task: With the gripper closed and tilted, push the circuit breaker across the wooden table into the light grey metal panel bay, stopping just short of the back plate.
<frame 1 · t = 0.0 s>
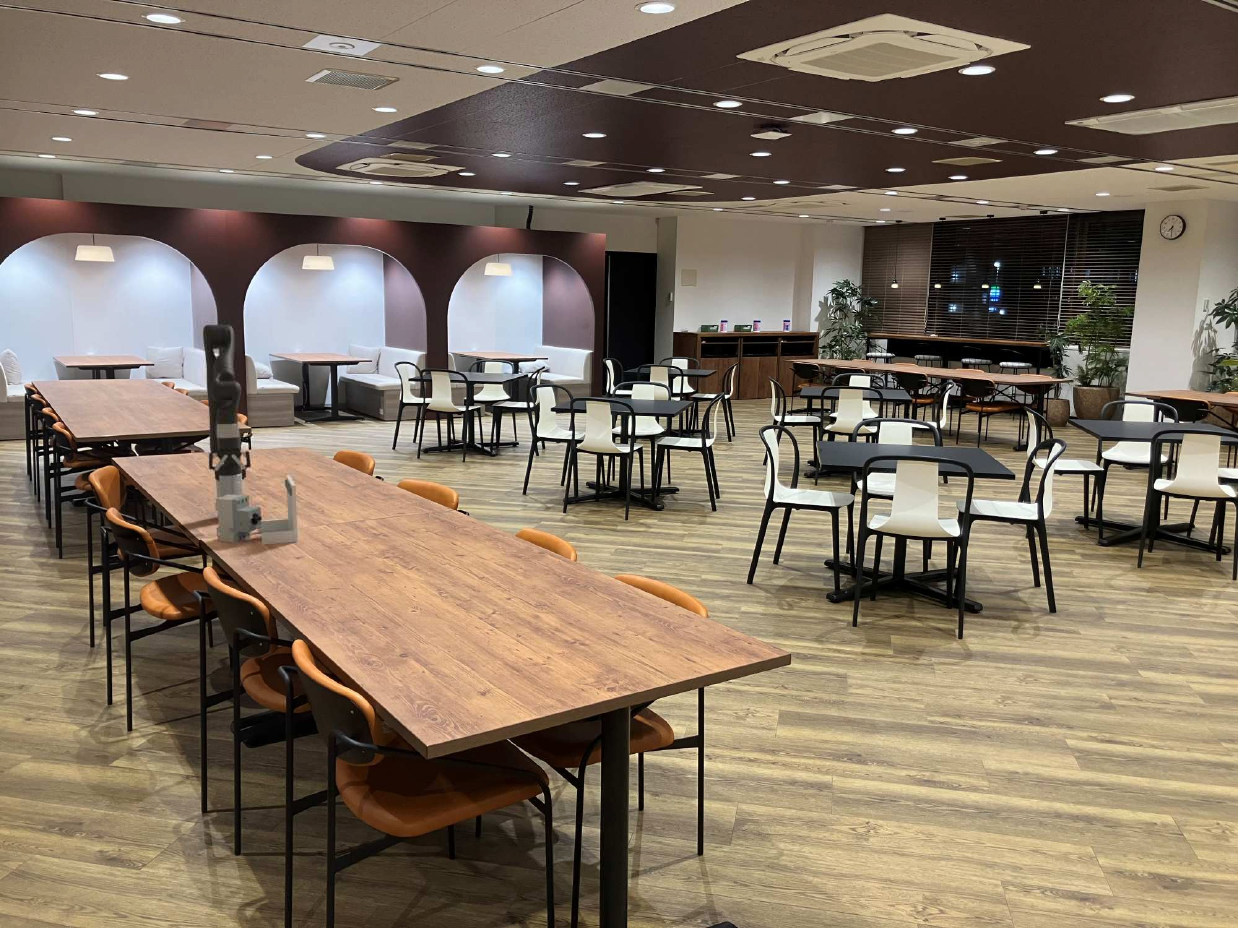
hand: (230, 480, 361), 17 cm above the table, tool pointing down, fingers open, 8 cm apart
circuit breaker: (241, 540, 344), on the table
panel bay: (271, 536, 348), on the table
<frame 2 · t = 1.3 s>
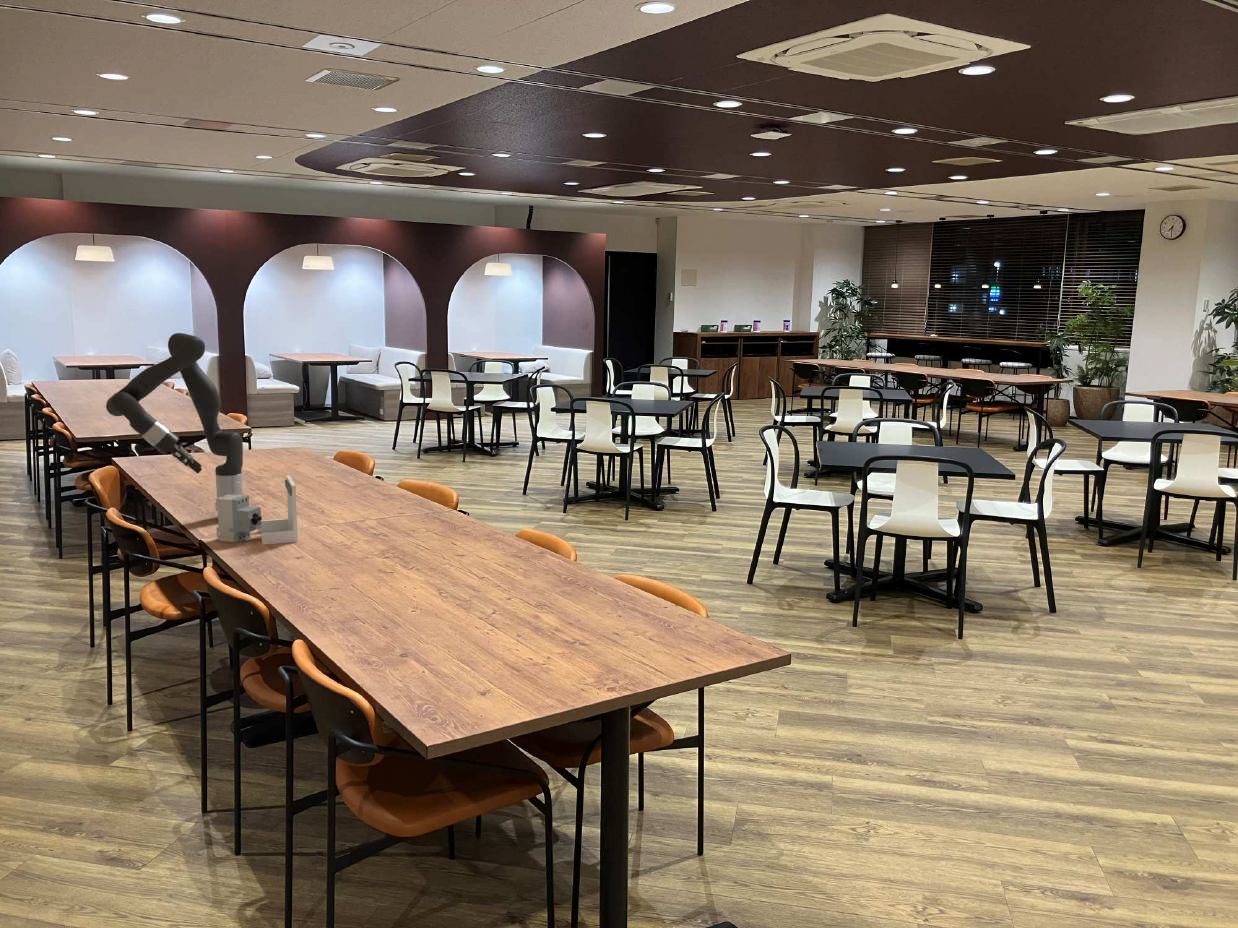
hand: (199, 469, 341), 25 cm above the table, tool tilted 45°, fingers open, 6 cm apart
nothing on the table moved.
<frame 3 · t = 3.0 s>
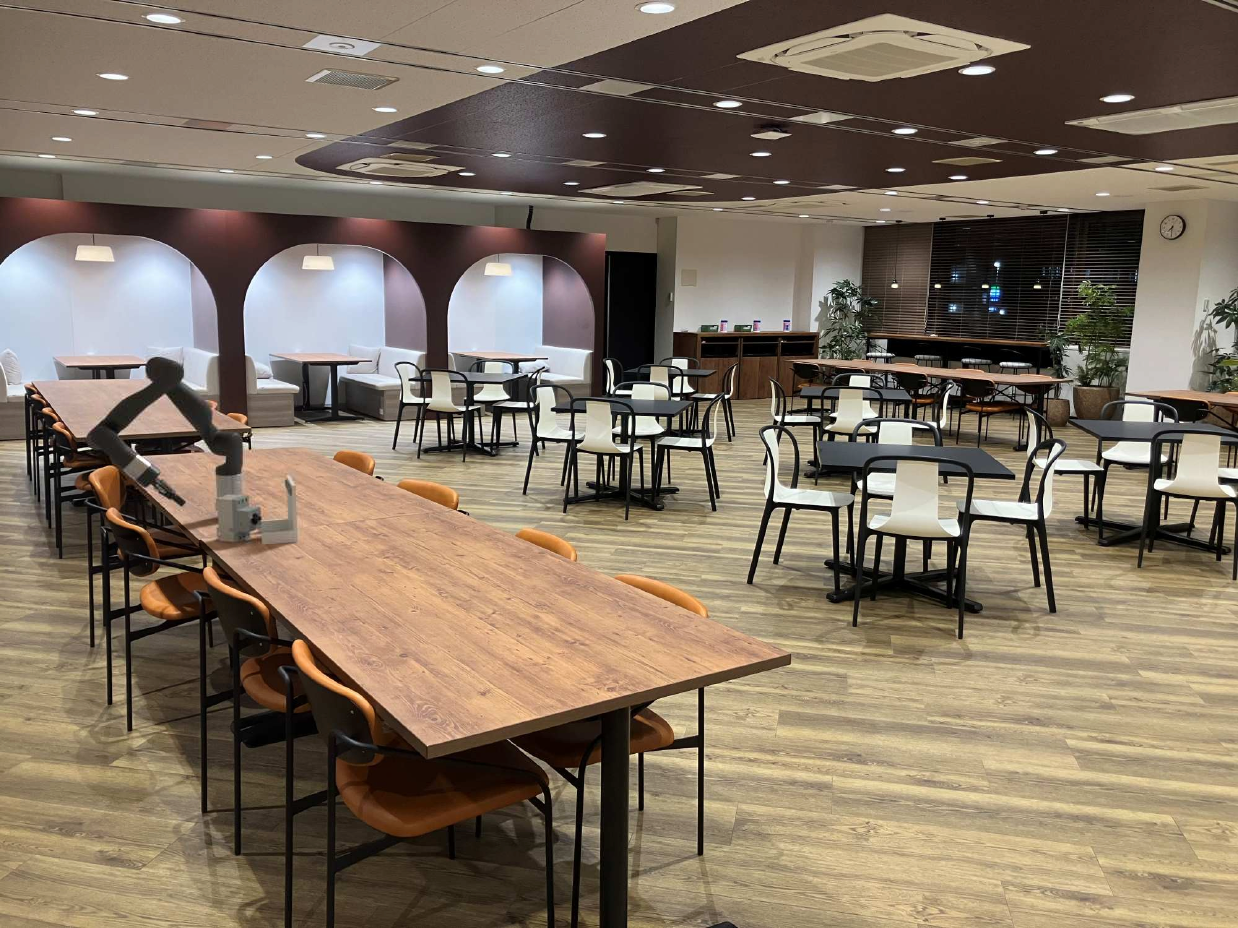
hand: (183, 504, 335), 14 cm above the table, tool tilted 45°, fingers closed
nothing on the table moved.
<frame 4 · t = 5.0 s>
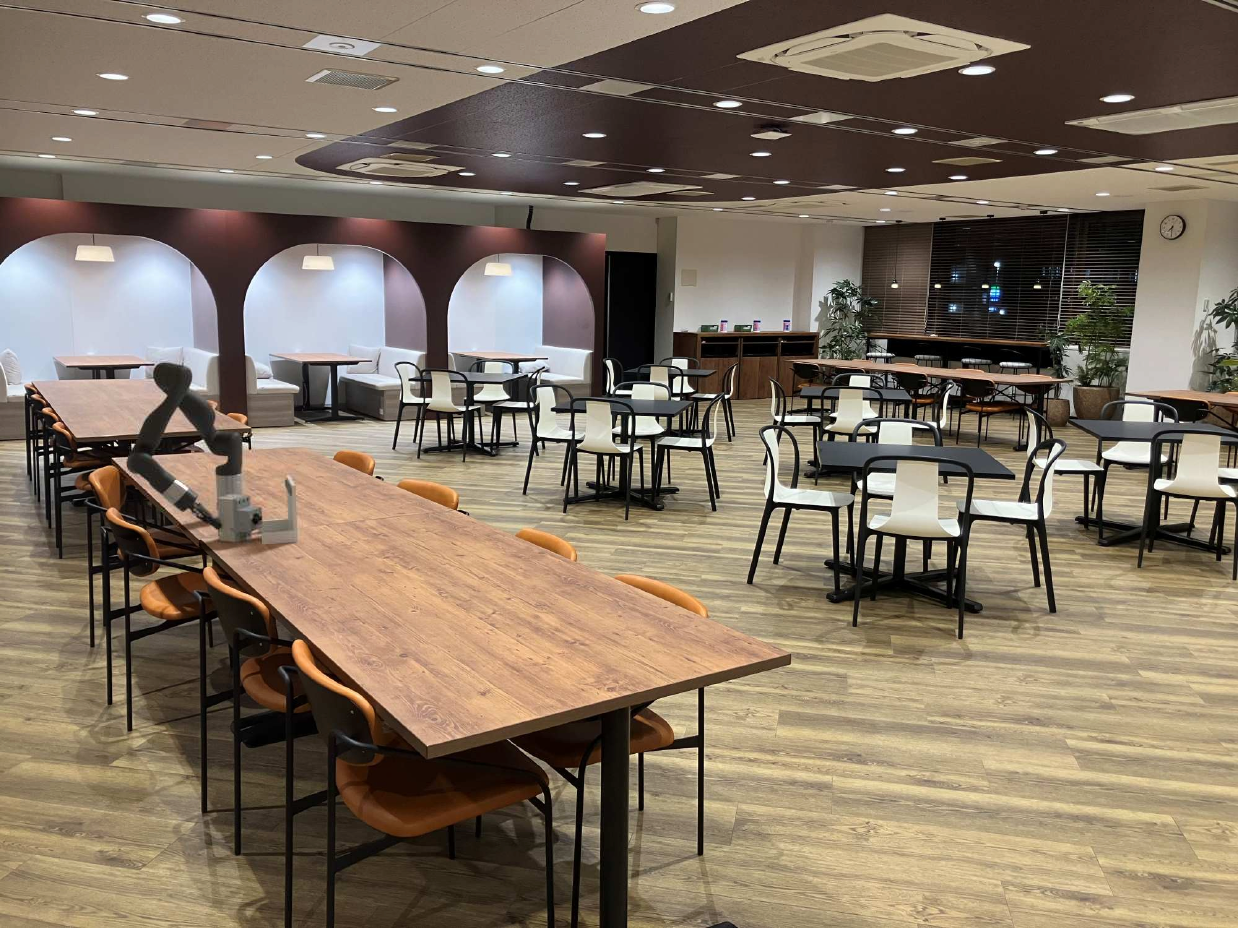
hand: (220, 527, 341), 5 cm above the table, tool tilted 45°, fingers closed
circuit breaker: (242, 539, 345), on the table, touching gripper
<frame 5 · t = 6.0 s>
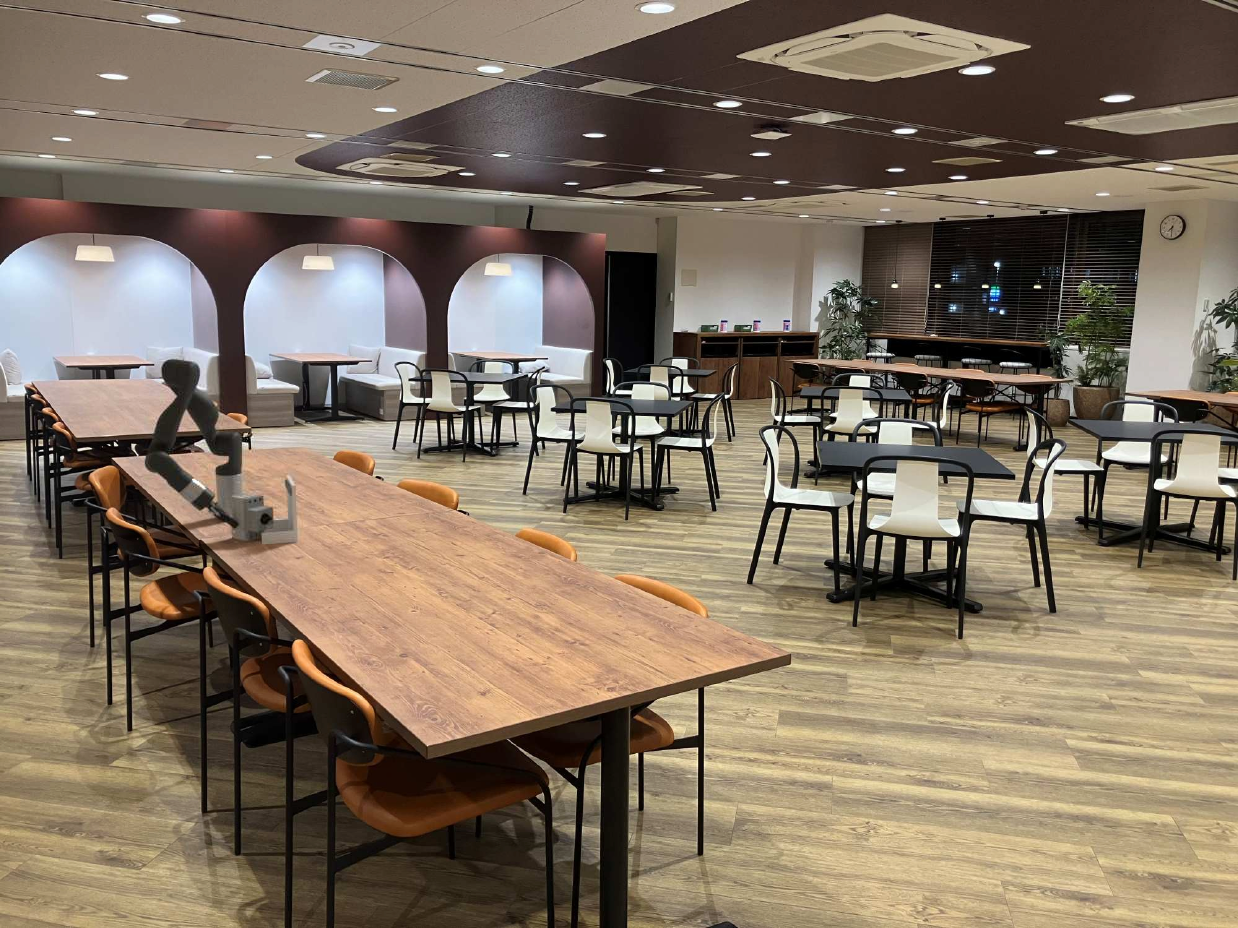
hand: (236, 526, 343), 5 cm above the table, tool tilted 45°, fingers closed
circuit breaker: (254, 539, 346), on the table, touching gripper
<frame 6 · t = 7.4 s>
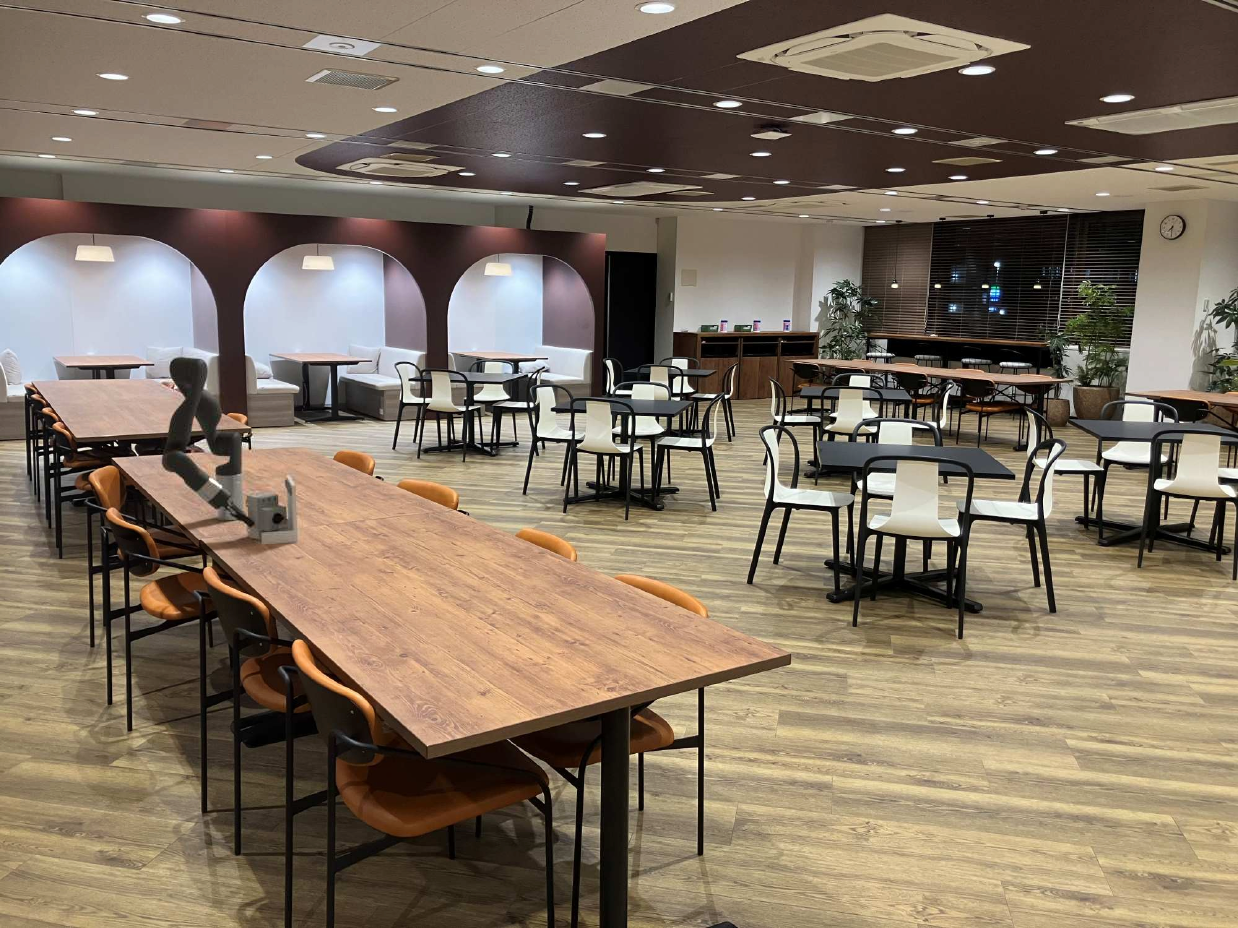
hand: (252, 525, 345), 5 cm above the table, tool tilted 45°, fingers closed
circuit breaker: (269, 538, 348), resting in panel bay, touching gripper
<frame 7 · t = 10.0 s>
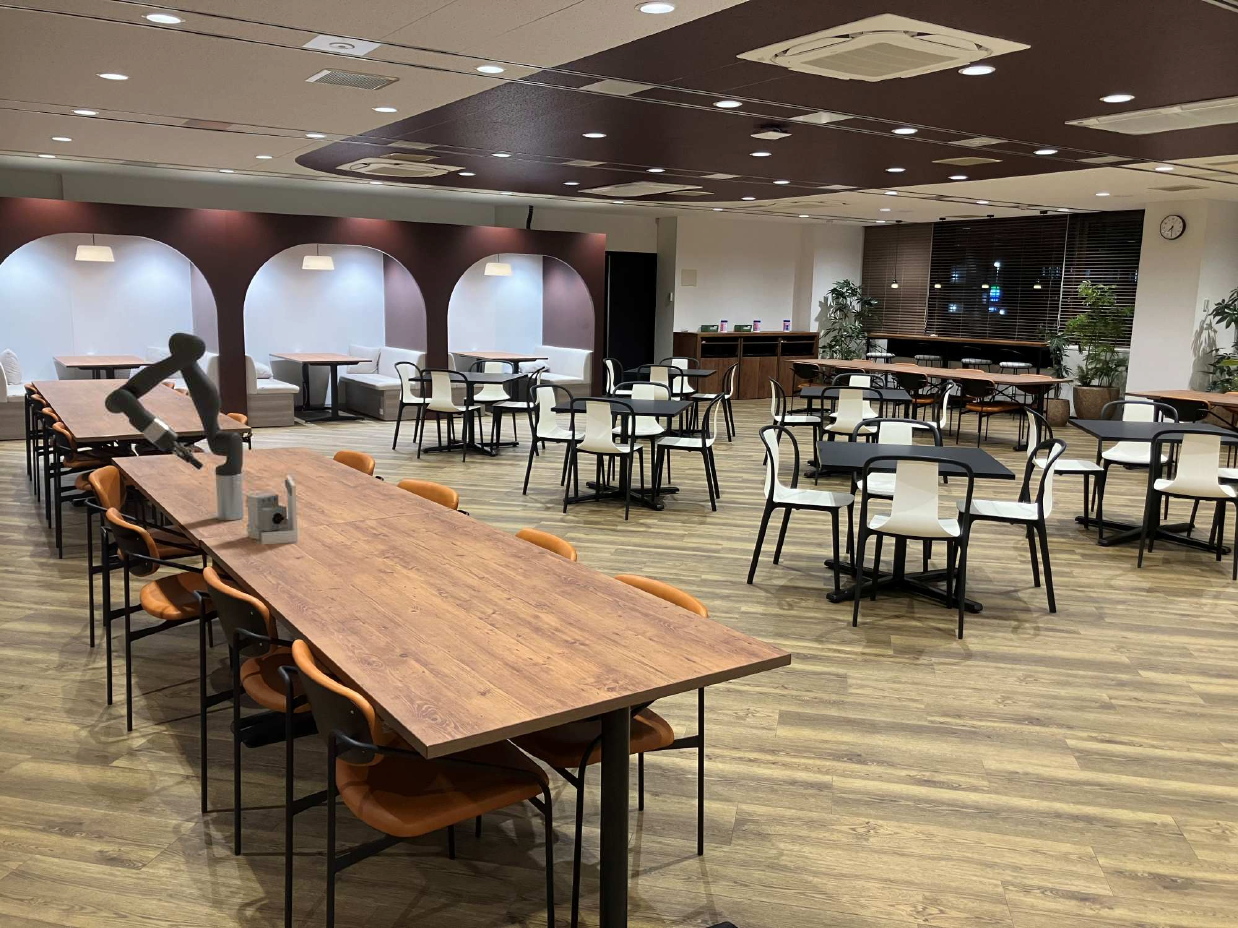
hand: (201, 467, 341), 25 cm above the table, tool tilted 45°, fingers closed
circuit breaker: (269, 538, 348), resting in panel bay
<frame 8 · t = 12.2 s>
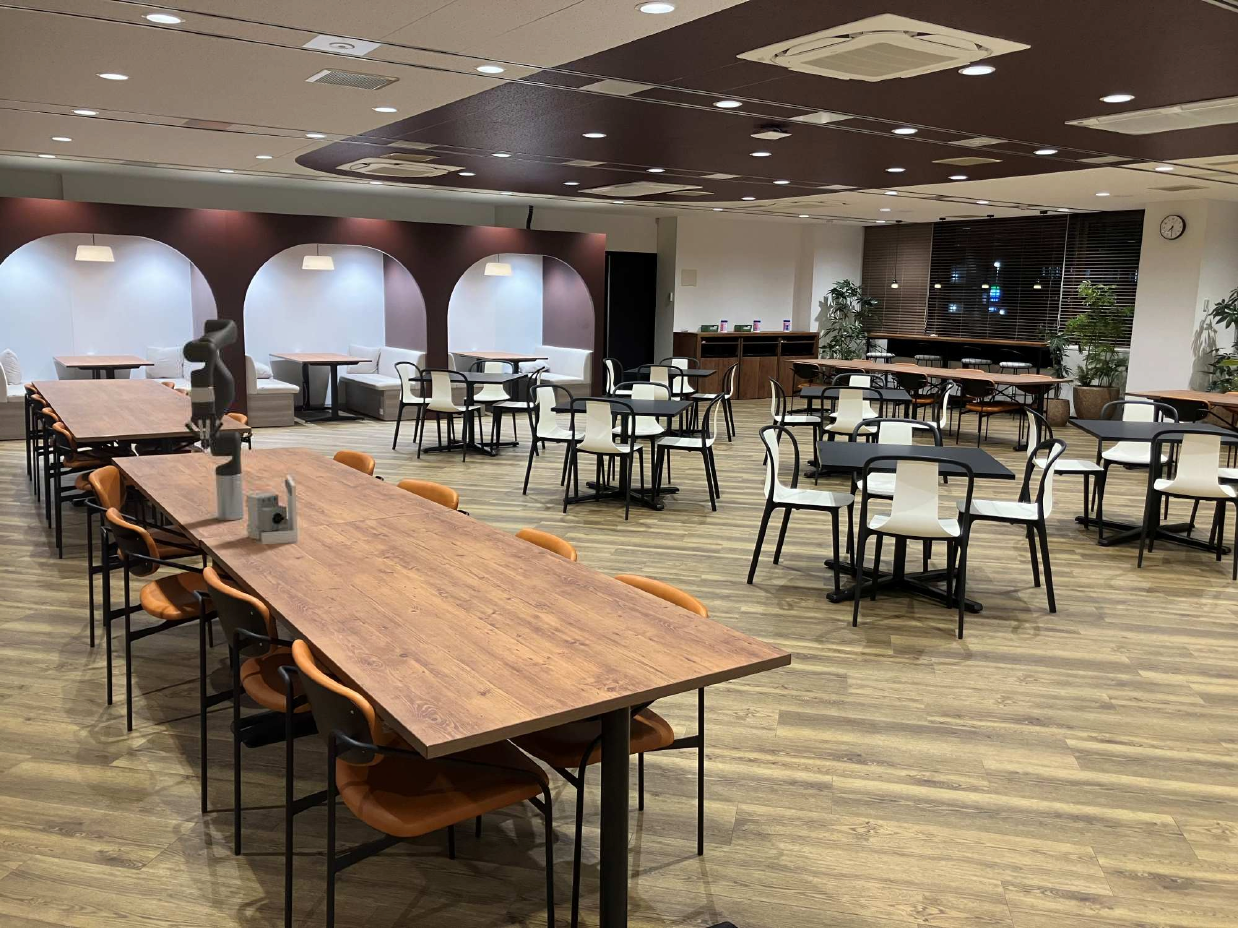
hand: (205, 449, 344), 31 cm above the table, tool pointing down, fingers closed
nothing on the table moved.
at the end: circuit breaker inside the target area on the panel bay (1.6 cm from its centre), point 0.0 cm above the panel bay's base; circuit breaker tilted 0° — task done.
